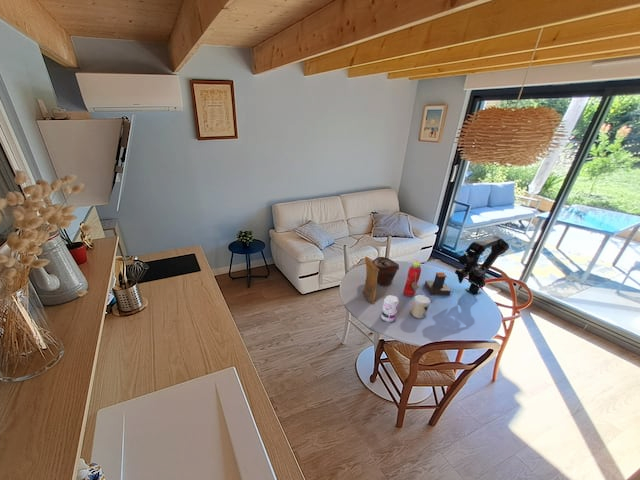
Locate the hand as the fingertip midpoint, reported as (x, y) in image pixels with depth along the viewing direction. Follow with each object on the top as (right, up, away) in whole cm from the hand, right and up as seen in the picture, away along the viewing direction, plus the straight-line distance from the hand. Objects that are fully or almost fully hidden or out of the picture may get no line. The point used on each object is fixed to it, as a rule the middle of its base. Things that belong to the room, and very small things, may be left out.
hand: (464, 281), depth 191 cm
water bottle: (-34, -10, +7) cm, 36 cm away
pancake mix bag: (-63, -11, +7) cm, 65 cm away
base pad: (-12, -7, +13) cm, 19 cm away
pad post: (-12, -7, +13) cm, 19 cm away
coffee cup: (-37, -21, -11) cm, 44 cm away
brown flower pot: (-47, -1, +24) cm, 53 cm away
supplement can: (-57, -23, -14) cm, 63 cm away
